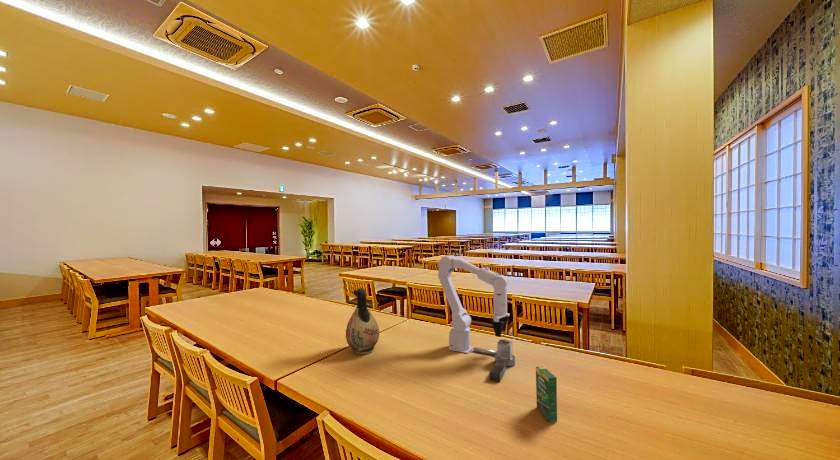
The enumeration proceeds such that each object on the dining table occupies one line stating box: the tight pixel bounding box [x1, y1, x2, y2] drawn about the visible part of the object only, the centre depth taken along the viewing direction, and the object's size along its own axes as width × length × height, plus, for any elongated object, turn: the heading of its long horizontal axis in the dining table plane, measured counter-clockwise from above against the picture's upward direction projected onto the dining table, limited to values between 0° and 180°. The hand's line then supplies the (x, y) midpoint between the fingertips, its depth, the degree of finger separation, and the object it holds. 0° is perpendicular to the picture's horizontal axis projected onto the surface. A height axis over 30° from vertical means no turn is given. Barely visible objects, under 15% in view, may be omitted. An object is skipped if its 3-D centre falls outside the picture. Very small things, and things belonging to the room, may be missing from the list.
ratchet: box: [489, 354, 516, 383], centre depth 123 cm, size 8×20×6 cm, turn 152°
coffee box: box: [535, 365, 558, 423], centre depth 94 cm, size 8×3×13 cm, turn 6°
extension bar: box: [472, 346, 497, 356], centre depth 138 cm, size 13×2×2 cm, turn 62°
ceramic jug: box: [345, 287, 380, 355], centre depth 142 cm, size 17×15×30 cm
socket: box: [496, 339, 514, 359], centre depth 128 cm, size 5×5×6 cm
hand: (500, 333), depth 136 cm, fingers open, 7 cm apart
